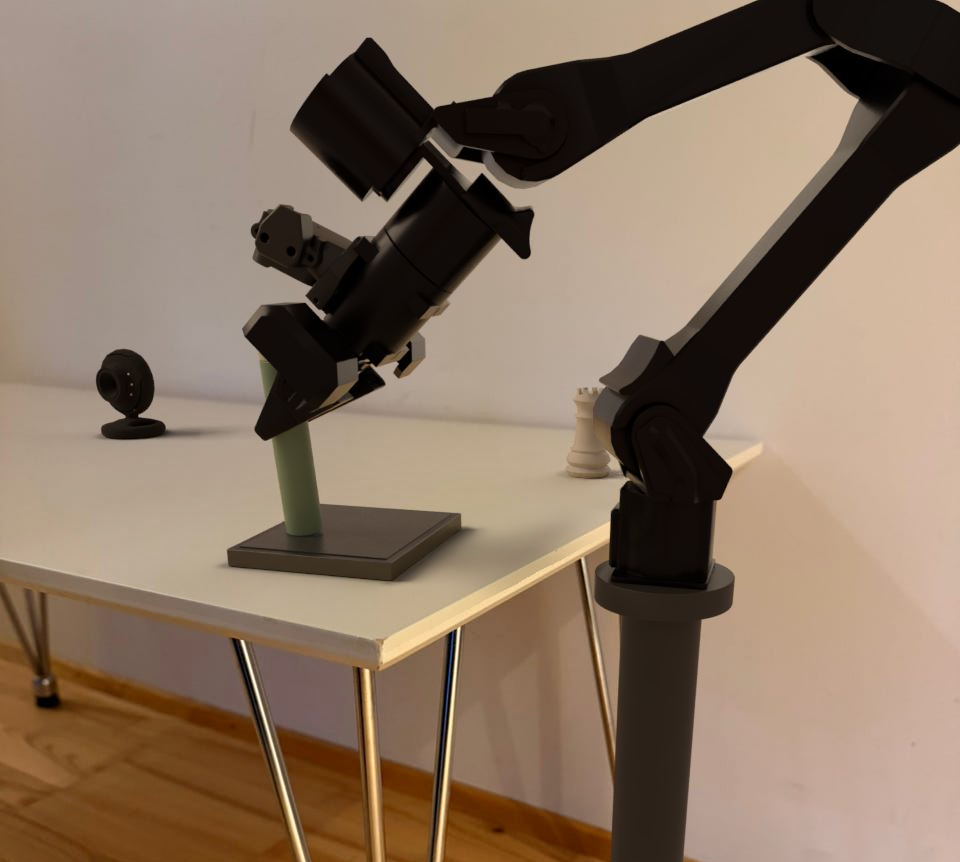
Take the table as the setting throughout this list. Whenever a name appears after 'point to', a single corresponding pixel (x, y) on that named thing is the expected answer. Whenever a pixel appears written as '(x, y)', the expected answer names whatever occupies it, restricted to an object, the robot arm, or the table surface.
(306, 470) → the green cylinder
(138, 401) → the webcam
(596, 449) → the rook chess piece
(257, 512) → the table surface
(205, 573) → the table surface
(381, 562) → the plate
